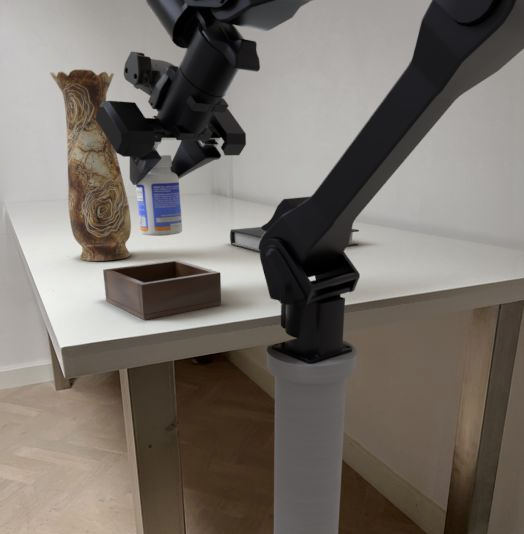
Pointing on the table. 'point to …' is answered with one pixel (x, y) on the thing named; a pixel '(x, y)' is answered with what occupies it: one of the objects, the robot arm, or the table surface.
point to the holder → (162, 288)
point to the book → (257, 238)
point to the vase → (93, 170)
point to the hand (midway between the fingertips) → (151, 181)
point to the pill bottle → (159, 200)
